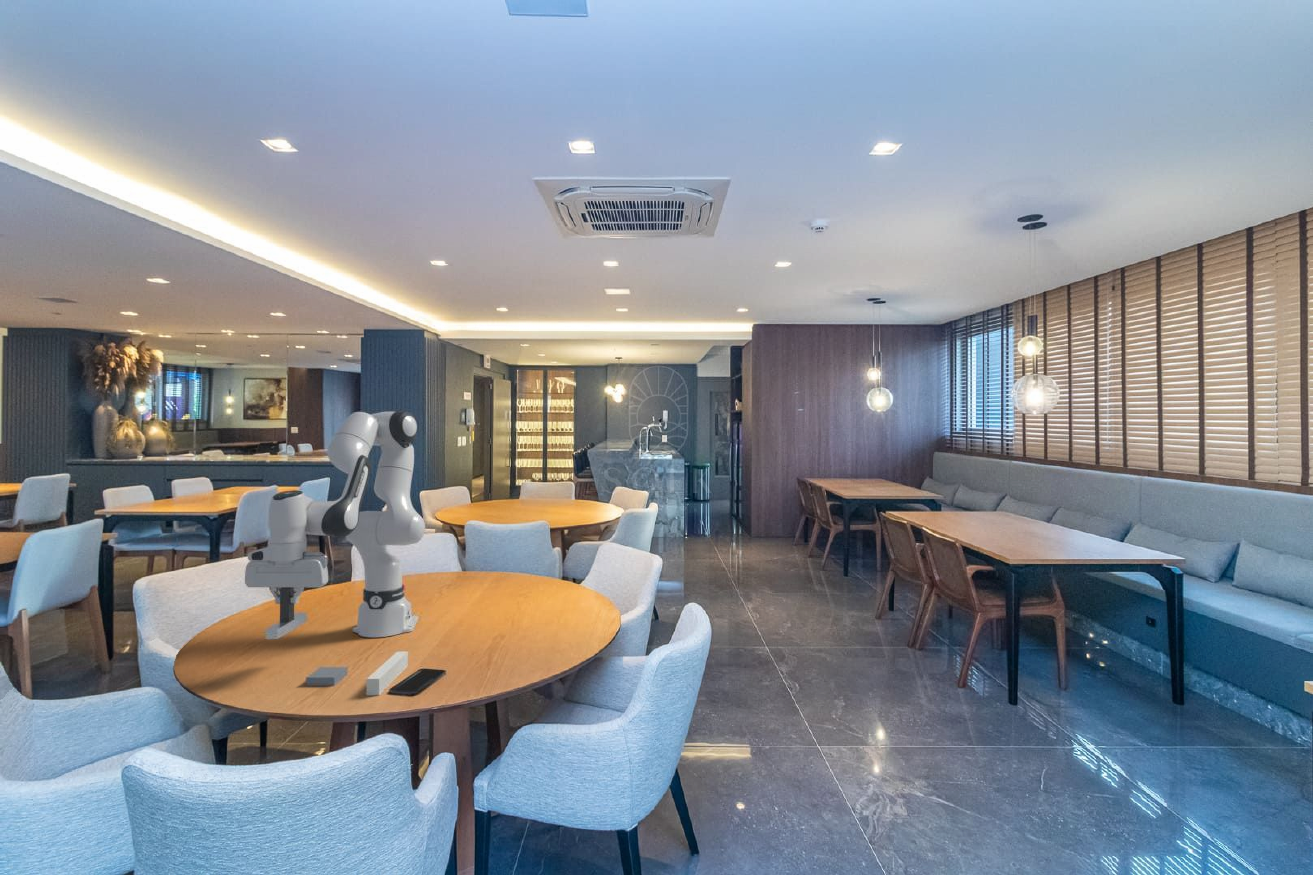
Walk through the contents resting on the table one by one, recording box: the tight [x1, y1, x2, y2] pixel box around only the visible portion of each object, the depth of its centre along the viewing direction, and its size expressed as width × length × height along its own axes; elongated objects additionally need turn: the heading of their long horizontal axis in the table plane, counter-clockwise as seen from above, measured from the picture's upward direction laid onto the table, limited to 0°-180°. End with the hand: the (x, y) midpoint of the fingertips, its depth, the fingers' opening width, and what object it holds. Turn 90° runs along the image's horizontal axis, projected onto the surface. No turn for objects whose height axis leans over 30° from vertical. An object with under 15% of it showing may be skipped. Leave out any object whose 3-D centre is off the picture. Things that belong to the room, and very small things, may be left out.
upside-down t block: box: [264, 587, 308, 640], centre depth 160 cm, size 14×3×12 cm, turn 3°
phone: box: [388, 668, 447, 697], centre depth 154 cm, size 8×1×15 cm
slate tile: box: [305, 666, 349, 687], centre depth 154 cm, size 7×7×2 cm
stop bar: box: [366, 651, 409, 696], centre depth 155 cm, size 19×3×4 cm, turn 3°
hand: (287, 603), depth 160 cm, fingers closed on upside-down t block, 2 cm apart
